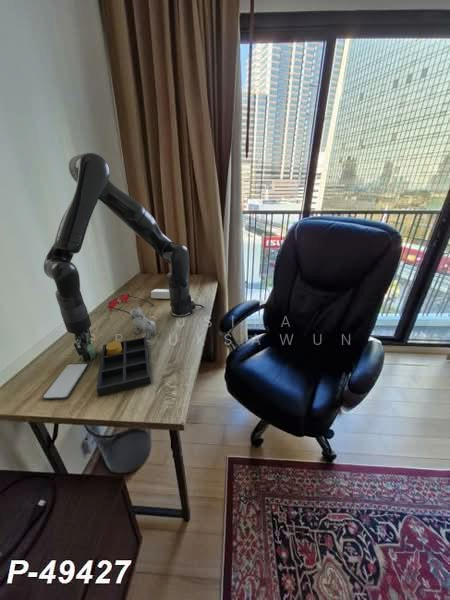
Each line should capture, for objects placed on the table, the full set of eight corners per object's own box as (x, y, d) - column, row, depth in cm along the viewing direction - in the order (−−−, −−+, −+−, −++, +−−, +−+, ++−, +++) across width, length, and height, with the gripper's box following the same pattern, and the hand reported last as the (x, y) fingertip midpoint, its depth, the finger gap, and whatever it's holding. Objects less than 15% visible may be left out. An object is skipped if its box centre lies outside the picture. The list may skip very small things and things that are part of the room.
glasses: (128, 299, 133) (127, 291, 131) (153, 305, 127) (152, 296, 124) (107, 311, 122) (105, 302, 120) (133, 318, 116) (131, 309, 113)
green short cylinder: (97, 350, 95) (94, 342, 93) (95, 359, 91) (92, 350, 89) (82, 353, 94) (79, 345, 92) (80, 362, 89) (77, 353, 88)
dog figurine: (140, 324, 111) (136, 303, 106) (158, 334, 104) (155, 312, 99) (129, 330, 107) (125, 308, 103) (148, 340, 100) (144, 318, 96)
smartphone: (88, 363, 88) (65, 397, 75) (88, 364, 88) (66, 398, 75) (68, 363, 88) (41, 398, 75) (68, 364, 88) (42, 399, 75)
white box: (178, 296, 138) (178, 282, 137) (175, 298, 131) (174, 284, 130) (155, 295, 139) (155, 281, 138) (151, 298, 132) (150, 283, 131)
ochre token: (122, 348, 95) (120, 339, 93) (122, 356, 91) (120, 347, 89) (108, 351, 94) (106, 342, 92) (107, 359, 90) (105, 350, 88)
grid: (146, 342, 99) (145, 336, 98) (151, 383, 80) (149, 376, 79) (104, 351, 95) (103, 344, 94) (98, 396, 76) (96, 389, 74)
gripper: (84, 325, 79) (97, 366, 87) (90, 304, 91) (101, 342, 99) (58, 329, 77) (73, 371, 85) (67, 308, 89) (80, 346, 97)
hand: (88, 355), depth 92 cm, fingers closed on green short cylinder, 5 cm apart
